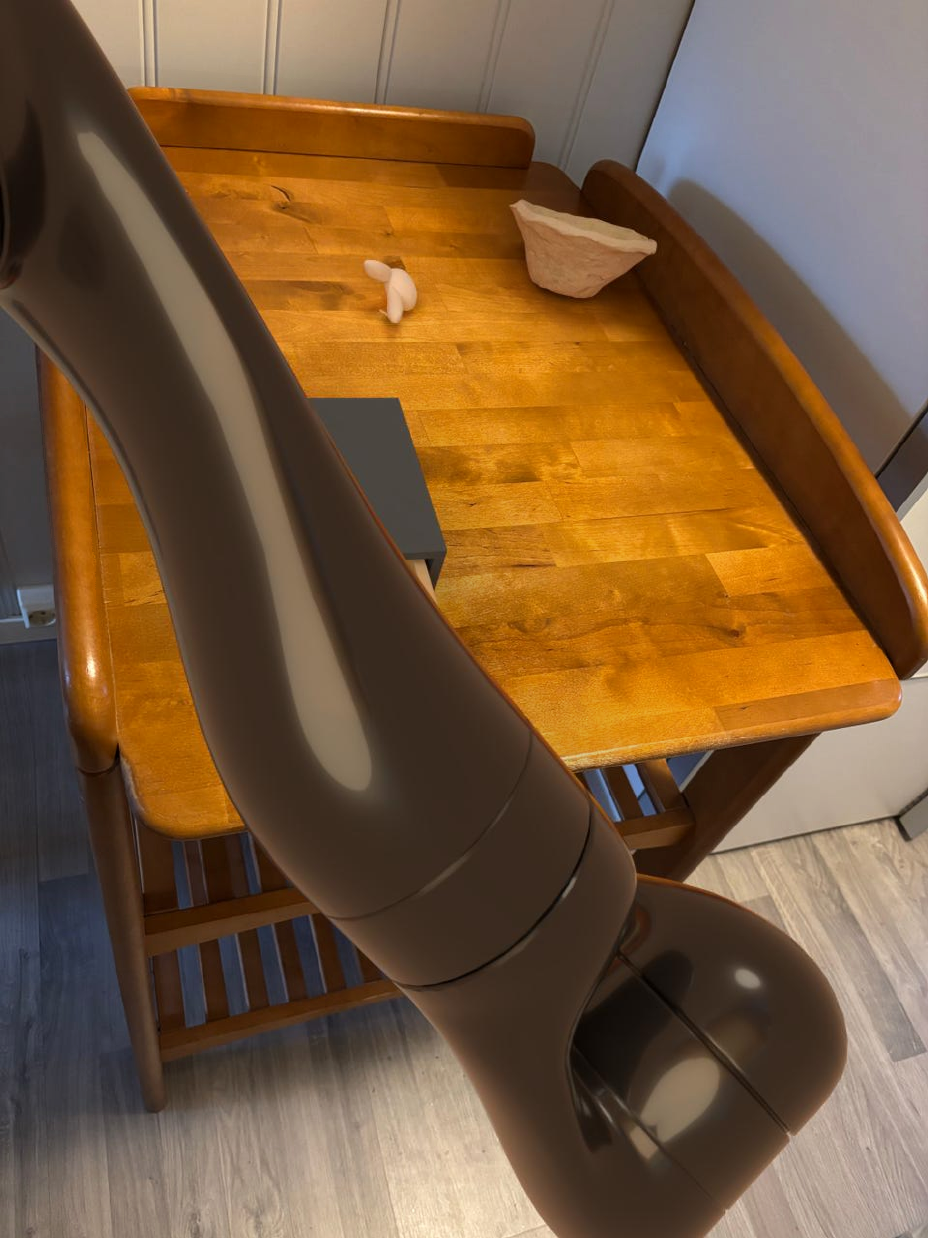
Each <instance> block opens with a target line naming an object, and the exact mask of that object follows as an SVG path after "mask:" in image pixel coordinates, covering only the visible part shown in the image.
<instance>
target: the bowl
mask: <svg viewBox="0 0 928 1238" xmlns="http://www.w3.org/2000/svg"><path fill="white" fill-rule="evenodd" d="M509 210H511V211H512V213H513V216H514V219H515V221H516V224H517V227H518V229H519V230H520V234H521V236H522V239H523V242H524V251H525V260H526V265H527V270H528V275H529V278H530V280H531V281H532V282H533V283H534V284H535V285H537V286H538V287H539V288H541V289H547V290H549V291H551V292H553V293H556V294H557V295H564V296H567V297H572V298H575V299H585V298H586V299H587V298H588V299H589V298H592V297H594V296H596V295H597V294H598V293H599V292H600V291H601V290H602V288H604V287H605V286H607V285H608V284H609V283H611V282H612V281H615V280H616V279H617V278H620V277H621V276H622V275H624V274H625V273H627V272H628V271H629V270H631V269H632V268H633V267H634V266H635V265H637V264H638V263H640V262H642V261H643V260H644V259H645V258H646V257H648V256H650V255H651V256H652V255H655V254H656V253H657V248H658V243H657V241H656V240H654V239H652V238H648V237H647V236H645V235H643V234H640V233H639V232H636V231H635V230H634V229H632V228H628V227H623V226H619V225H615V224H611V223H610V222H606V221H603V220H601V219H598V218H593V217H585V216H577V215H572V214H571V213H569V212H568V213H567V212H558V211H556V210H554V209H553V210H552V209H550V208H547V207H544V206H541V205H536V204H532V203H531V202H529V201H527V200H525V199H520V200H518V201H517V202H516V203H513V204H509Z"/></svg>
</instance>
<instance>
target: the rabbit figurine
mask: <svg viewBox="0 0 928 1238" xmlns="http://www.w3.org/2000/svg"><path fill="white" fill-rule="evenodd" d="M363 269H364V271H365V273H366V275H367V276H369V278H371V279H373V280H375V281H378V282H383V287H384V292H385V295H386V300H387V301H386V302H387V304H386V311H384V310H383V309H381V308H379V312H380V313H381V314H383V315H384V316H386V317H387V318H388V320H389V321H390V323H392V324H398V323H399V322H401V321H402V318H403V313H404V311H405V312H406V311H411V310H413V309H414V307H415V306H416V303H417V301H418V291H417V288H416V284H415V282H414V280H413V278H412V277H411V276H410V274H409V273H408V272H407V271H406V270H404V269H401V268H397V267H395V268H391V267H390V266H389V265H387V264H385V263H384V262H381V261H379V260H375V259H366V260H365V261H364V262H363Z"/></svg>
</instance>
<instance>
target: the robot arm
mask: <svg viewBox="0 0 928 1238" xmlns="http://www.w3.org/2000/svg"><path fill="white" fill-rule="evenodd" d="M186 191H187V189H186V188H185V187H184V185H183V183H182V181H181V180H180V178H179V176H178V174H177V173H176V171H175V169H174V167H173V166H172V164H171V162H170V161H169V160H168V157H167V156H166V154H165V152H164V151H163V149H162V147H161V145H160V144H159V142H158V140H157V139H156V137H155V135H154V134H153V132H152V131H151V129H150V127H149V125H148V123H147V122H146V121H145V119H144V117H143V115H142V114H141V112H140V110H139V108H138V107H137V105H136V103H135V102H134V100H133V98H132V97H131V95H130V93H129V92H128V90H127V88H126V87H125V85H124V83H123V82H122V80H121V78H120V76H119V75H118V73H117V71H116V70H115V68H114V66H113V64H112V63H111V61H110V59H109V58H108V57H107V55H106V54H105V52H104V50H103V49H102V47H101V45H100V44H99V42H98V40H97V39H96V38H95V35H94V34H93V33H92V31H91V29H90V28H89V26H88V24H87V23H86V21H85V20H84V18H83V17H82V15H81V13H80V12H79V10H78V8H76V5H75V4H74V2H73V1H72V0H0V307H1V309H2V310H3V311H5V312H6V313H7V314H8V315H9V316H10V317H11V318H12V319H13V320H14V322H16V324H17V325H18V326H20V327H21V328H22V329H23V331H25V333H26V334H27V335H28V336H29V337H30V338H31V339H32V340H33V341H34V343H35V344H36V345H37V346H38V347H39V348H40V349H41V350H42V352H43V353H44V354H45V355H46V356H47V357H48V358H49V359H50V361H51V362H52V363H53V364H54V365H55V367H56V368H57V369H58V371H59V372H60V373H61V374H62V376H64V378H65V379H66V380H67V381H68V384H69V385H70V386H71V387H72V388H73V391H74V392H75V393H76V394H77V396H78V397H79V399H80V400H81V401H82V403H83V404H84V405H85V407H86V408H87V410H88V411H89V414H91V417H92V418H93V419H94V421H95V423H96V425H97V426H98V428H99V429H100V431H101V434H102V435H103V436H104V438H105V440H106V441H107V443H108V446H109V448H110V450H111V452H112V454H113V456H114V458H115V460H116V462H117V464H118V466H119V469H120V470H121V472H122V474H123V477H124V479H125V481H126V484H127V487H128V490H129V491H130V495H131V498H132V500H133V502H134V505H135V507H136V511H137V513H138V516H139V518H140V521H141V523H142V525H143V527H144V531H145V533H146V536H147V539H148V541H149V545H150V548H151V551H152V555H153V559H154V562H155V566H156V570H157V573H158V576H159V580H160V584H161V587H162V591H163V593H164V597H165V600H166V604H167V609H168V612H169V616H170V620H171V624H172V629H173V632H174V636H175V641H176V644H177V648H178V653H179V656H180V661H181V664H182V668H183V672H184V675H185V678H186V679H185V680H186V682H187V687H188V690H189V692H190V696H191V700H192V703H193V707H194V710H195V714H196V718H197V721H198V724H199V728H200V731H201V734H202V736H203V739H204V743H205V744H206V748H207V749H208V750H207V751H208V754H209V756H210V759H211V761H212V763H213V766H214V768H215V770H216V772H217V774H218V777H219V779H220V782H221V783H222V786H223V788H224V790H225V792H226V794H227V797H228V798H229V800H230V802H231V804H232V806H233V807H234V808H235V811H236V813H237V815H238V816H239V818H240V820H241V822H242V824H243V825H244V827H245V829H246V830H247V831H248V833H249V834H250V835H251V837H252V838H253V840H254V841H255V842H256V844H257V846H258V847H259V848H260V849H261V852H262V853H263V854H264V855H265V856H266V858H267V859H268V860H269V861H270V862H271V863H272V865H273V866H274V867H275V868H276V869H277V870H278V872H280V874H281V875H282V876H283V877H284V878H285V879H286V880H287V882H289V883H290V885H292V886H293V887H294V888H295V890H297V891H298V892H299V894H300V895H302V896H303V897H304V898H305V899H306V900H307V901H308V902H309V903H310V904H311V905H312V906H313V907H314V908H316V910H318V911H319V913H321V914H322V915H323V916H324V918H326V919H327V920H328V921H329V922H330V923H331V924H332V925H333V926H334V927H335V928H336V929H337V930H338V931H339V932H340V933H341V934H342V935H344V937H346V938H347V939H348V940H349V942H351V944H353V945H354V946H355V947H356V948H357V949H358V950H359V951H360V952H361V953H362V954H363V955H364V956H365V957H366V958H367V959H368V960H369V961H370V962H371V963H372V964H373V965H375V966H376V968H378V970H380V971H381V972H382V973H383V974H384V975H385V976H386V977H388V979H389V980H390V982H392V983H393V984H394V985H395V986H396V987H397V988H398V989H399V990H400V991H401V992H402V993H403V994H404V995H405V996H406V997H407V998H408V999H409V1000H410V1001H411V1003H412V1004H413V1005H414V1006H415V1007H416V1008H417V1010H419V1012H420V1013H421V1014H422V1015H423V1016H424V1017H425V1019H426V1020H427V1021H428V1022H429V1024H430V1025H431V1026H432V1027H433V1029H435V1031H436V1033H438V1035H439V1036H440V1037H441V1039H442V1040H443V1042H444V1043H445V1044H446V1046H447V1048H448V1049H449V1050H450V1052H451V1054H452V1055H453V1057H454V1058H455V1060H456V1062H457V1063H458V1064H459V1067H461V1069H462V1071H463V1073H464V1074H465V1076H466V1078H467V1080H468V1082H469V1084H470V1085H471V1087H472V1090H473V1091H474V1093H475V1094H476V1096H477V1098H478V1100H479V1102H480V1104H481V1107H482V1108H483V1110H484V1113H485V1116H486V1117H487V1119H488V1121H489V1123H490V1125H491V1128H492V1129H493V1132H494V1134H495V1136H496V1139H497V1140H498V1142H499V1145H500V1147H501V1149H502V1151H503V1153H504V1155H505V1157H506V1160H507V1162H508V1163H509V1165H510V1167H511V1170H512V1171H513V1174H514V1175H515V1177H516V1179H517V1181H518V1182H519V1184H520V1186H521V1188H522V1190H523V1192H524V1193H525V1195H526V1197H527V1198H528V1201H529V1202H530V1203H531V1205H532V1206H533V1208H534V1209H535V1211H536V1212H537V1214H538V1215H539V1217H540V1218H541V1219H542V1220H543V1222H544V1223H545V1224H546V1225H547V1227H548V1228H549V1229H550V1230H551V1232H552V1233H553V1234H554V1235H555V1236H556V1237H557V1238H706V1236H707V1235H708V1234H709V1233H710V1232H711V1231H712V1230H713V1229H714V1227H716V1225H717V1224H718V1223H719V1222H720V1220H722V1219H723V1217H724V1216H725V1215H726V1211H727V1210H728V1211H729V1210H730V1209H731V1208H732V1207H733V1206H734V1205H735V1204H736V1202H737V1201H738V1200H739V1199H740V1198H741V1197H742V1196H743V1194H745V1193H746V1191H747V1190H748V1189H749V1188H750V1187H751V1186H752V1184H754V1182H755V1181H756V1180H757V1179H759V1177H760V1176H761V1174H763V1172H764V1171H766V1169H767V1168H768V1167H769V1165H770V1164H771V1163H772V1162H774V1160H775V1159H776V1158H777V1157H778V1155H779V1154H781V1152H782V1151H783V1150H784V1148H786V1147H787V1145H788V1144H790V1142H791V1137H790V1136H792V1137H796V1136H797V1135H798V1134H799V1133H800V1132H801V1130H802V1129H803V1128H804V1127H805V1126H806V1125H807V1124H808V1123H809V1121H810V1120H812V1118H813V1117H814V1115H816V1114H817V1112H819V1110H820V1109H821V1108H822V1107H823V1106H824V1104H825V1103H826V1102H827V1101H828V1099H829V1098H830V1097H831V1096H832V1094H833V1093H834V1091H835V1089H836V1088H837V1086H838V1084H839V1082H840V1081H841V1079H842V1077H843V1074H844V1072H845V1068H846V1064H847V1061H848V1047H849V1045H848V1044H849V1043H848V1042H849V1041H848V1040H849V1039H848V1031H847V1025H846V1021H845V1017H844V1014H843V1011H842V1008H841V1005H840V1001H839V1000H838V997H837V994H836V992H835V990H834V988H833V986H832V984H831V983H830V981H829V979H828V978H827V975H825V973H824V971H823V970H822V969H821V967H820V966H819V965H818V964H817V962H816V961H815V960H814V959H813V957H812V956H811V955H810V954H809V953H808V952H807V951H806V950H805V949H804V948H803V947H802V946H801V945H800V944H799V943H798V942H797V941H796V940H795V939H794V938H792V937H791V936H790V935H789V934H788V933H786V932H785V931H784V930H782V929H781V927H779V926H778V925H776V924H775V923H773V922H772V921H770V920H769V919H767V918H766V917H763V915H761V914H759V913H757V912H755V911H754V910H752V909H750V908H749V907H746V906H744V905H743V904H741V903H738V902H737V901H735V900H732V899H730V898H728V897H725V896H724V895H721V894H718V893H715V892H713V891H711V890H707V889H704V888H701V887H697V886H694V885H691V884H688V883H685V882H680V881H677V880H672V879H668V878H664V877H658V876H653V875H649V874H644V873H639V872H637V868H636V865H635V859H634V856H633V854H632V852H631V849H630V847H629V845H628V843H627V841H626V839H625V838H624V836H623V834H622V833H621V831H620V830H619V828H618V826H617V825H616V824H615V822H614V821H613V819H612V818H611V817H610V816H609V815H608V813H607V812H606V811H605V809H604V808H603V807H602V806H601V804H600V803H599V802H598V801H597V800H596V798H595V797H594V796H593V795H592V794H591V793H590V791H589V790H588V789H587V788H586V787H585V785H584V784H583V783H582V782H581V781H580V779H579V777H577V776H576V774H575V773H574V772H573V771H572V770H571V768H570V767H569V766H568V765H567V763H565V761H564V760H563V759H562V758H561V757H560V755H559V754H558V753H557V752H556V751H555V749H554V748H553V747H552V746H551V744H550V743H549V742H548V741H547V740H546V738H545V737H544V736H543V735H542V733H541V732H540V731H539V730H538V729H537V728H536V726H535V725H534V724H533V723H532V721H530V719H529V718H528V717H527V715H526V714H525V713H524V712H523V710H522V709H521V708H520V707H519V706H518V704H517V703H516V701H514V700H513V698H512V697H511V696H510V695H509V694H508V693H507V692H506V690H505V688H504V687H502V686H501V684H500V683H499V682H498V681H497V680H496V678H495V677H494V676H493V675H492V674H491V673H490V672H489V670H488V669H487V667H486V666H485V665H484V664H483V663H482V662H481V660H480V659H479V658H478V657H477V656H476V654H475V653H474V652H473V651H472V649H471V647H470V646H469V645H468V643H467V642H466V641H465V639H464V638H463V637H462V636H461V634H460V633H459V632H458V631H457V629H456V627H454V625H453V624H452V622H451V621H450V620H449V619H448V617H447V616H446V615H445V613H443V611H442V609H441V608H440V607H438V606H439V604H438V605H437V604H436V602H435V601H434V599H433V598H432V597H431V595H430V594H429V592H428V591H427V589H426V588H425V587H424V585H423V584H422V582H421V581H420V579H419V578H418V577H417V575H416V574H415V572H414V571H413V569H412V568H411V567H410V565H409V564H408V562H407V561H406V559H405V558H404V556H403V555H402V553H401V552H400V550H399V549H398V547H397V546H396V544H395V543H394V541H393V539H392V538H391V536H390V535H389V533H388V532H387V530H386V529H385V527H384V526H383V524H382V523H381V521H380V520H379V518H378V517H377V515H376V514H375V512H374V510H373V509H372V507H371V505H370V503H369V502H368V500H367V498H366V497H365V495H364V493H363V491H362V490H361V488H360V486H359V485H358V483H357V481H356V479H355V478H354V476H353V474H352V473H351V471H350V469H349V467H348V466H347V464H346V462H345V461H344V459H343V457H342V456H341V454H340V452H339V450H338V449H337V447H336V445H335V444H334V442H333V440H332V439H331V437H330V435H329V434H328V432H327V430H326V428H325V427H324V425H323V423H322V422H321V420H320V418H319V417H318V415H317V413H316V411H315V410H314V408H313V407H312V405H311V403H310V401H309V400H308V398H309V397H308V396H307V394H306V392H305V391H304V388H303V387H302V385H301V383H300V381H299V380H298V378H297V376H296V374H295V373H294V371H293V369H292V367H291V365H290V364H289V362H288V360H287V358H286V356H285V355H284V353H283V351H282V349H281V348H280V346H279V344H278V342H277V340H276V339H275V337H274V336H273V334H272V332H271V330H270V329H269V327H268V325H267V324H266V322H265V319H263V317H262V315H261V313H260V312H259V310H258V309H257V307H256V305H255V303H254V301H253V300H252V298H251V296H250V295H249V292H247V290H246V288H245V287H244V285H243V282H241V280H240V279H239V277H238V275H237V273H236V272H235V269H233V267H232V265H231V263H230V262H229V260H228V258H227V257H226V255H225V253H224V252H223V250H222V249H221V247H220V246H219V244H218V242H217V241H216V239H215V237H214V236H213V233H212V232H211V230H210V229H209V227H208V225H207V223H205V221H204V218H203V217H202V215H201V214H200V211H199V210H198V209H197V207H196V205H195V203H194V201H193V200H192V198H191V196H190V195H189V192H188V193H187V192H186Z"/></svg>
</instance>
